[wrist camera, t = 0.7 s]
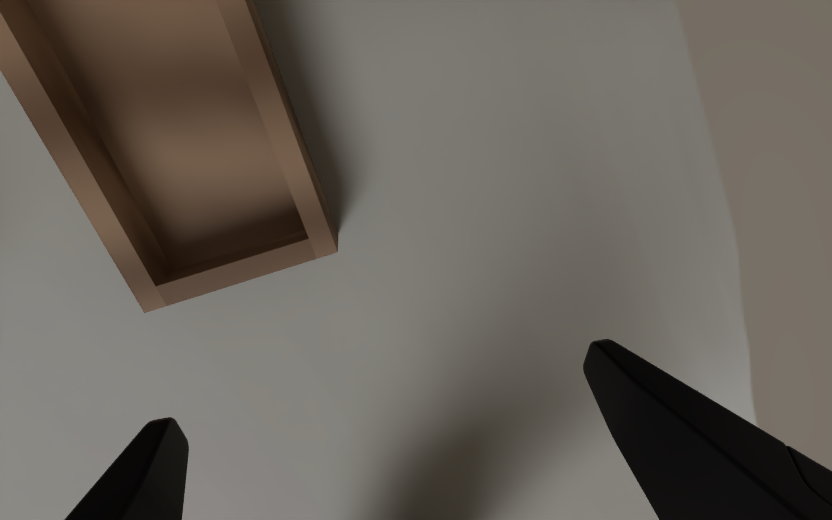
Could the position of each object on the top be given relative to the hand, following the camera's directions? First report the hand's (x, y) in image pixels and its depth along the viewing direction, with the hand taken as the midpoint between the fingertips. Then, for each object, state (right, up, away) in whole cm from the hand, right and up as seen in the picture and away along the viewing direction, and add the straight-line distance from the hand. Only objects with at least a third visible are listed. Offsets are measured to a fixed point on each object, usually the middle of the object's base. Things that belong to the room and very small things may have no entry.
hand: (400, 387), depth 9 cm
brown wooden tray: (-10, +10, +10) cm, 17 cm away
